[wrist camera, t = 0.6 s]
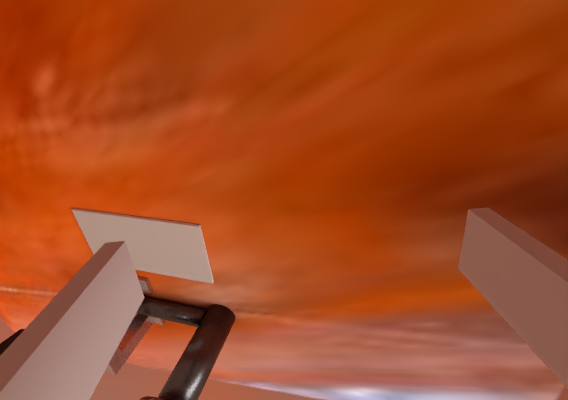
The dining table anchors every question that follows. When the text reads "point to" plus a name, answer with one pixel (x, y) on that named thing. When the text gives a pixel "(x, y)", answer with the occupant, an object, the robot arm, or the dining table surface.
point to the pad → (150, 242)
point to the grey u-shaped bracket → (133, 334)
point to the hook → (191, 345)
